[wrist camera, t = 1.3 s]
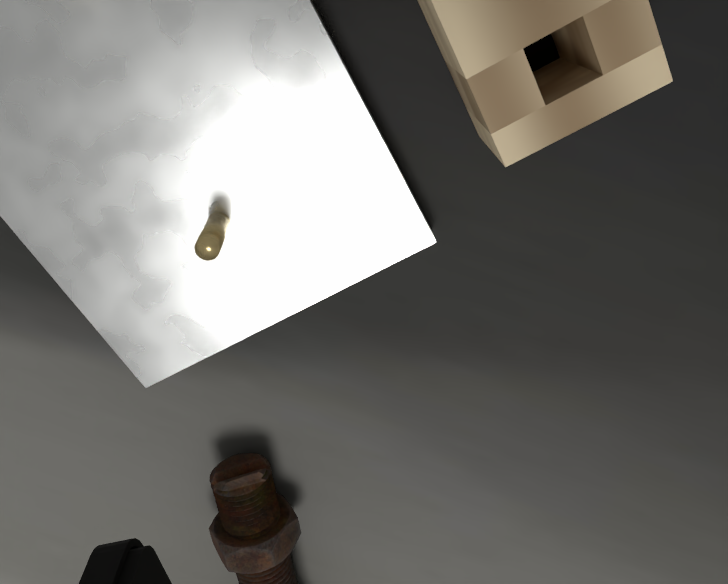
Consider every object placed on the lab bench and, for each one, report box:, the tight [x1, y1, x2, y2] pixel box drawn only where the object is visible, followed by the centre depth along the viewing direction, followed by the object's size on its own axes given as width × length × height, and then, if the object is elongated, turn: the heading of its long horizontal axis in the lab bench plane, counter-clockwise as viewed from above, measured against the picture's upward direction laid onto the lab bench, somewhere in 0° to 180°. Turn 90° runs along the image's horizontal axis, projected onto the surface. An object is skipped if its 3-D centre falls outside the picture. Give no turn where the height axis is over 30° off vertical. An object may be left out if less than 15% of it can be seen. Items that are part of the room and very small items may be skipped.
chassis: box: [0, 0, 436, 388], centre depth 26 cm, size 16×22×4 cm
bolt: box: [209, 453, 301, 584], centre depth 38 cm, size 6×5×15 cm
